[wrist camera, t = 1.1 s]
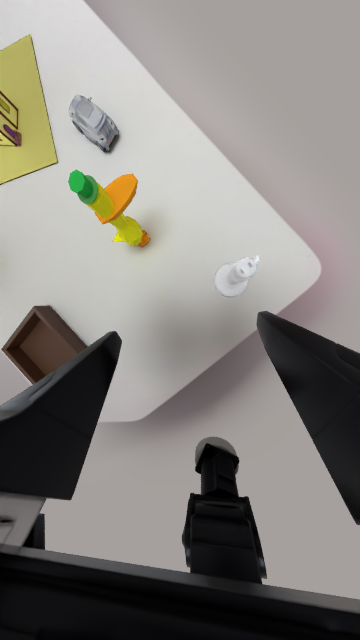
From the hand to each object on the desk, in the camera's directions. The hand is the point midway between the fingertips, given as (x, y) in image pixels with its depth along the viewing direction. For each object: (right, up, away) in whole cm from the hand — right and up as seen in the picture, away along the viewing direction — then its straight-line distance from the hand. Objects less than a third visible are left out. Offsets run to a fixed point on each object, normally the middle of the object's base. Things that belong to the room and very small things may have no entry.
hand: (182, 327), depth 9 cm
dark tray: (-24, -6, +19) cm, 31 cm away
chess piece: (+7, +7, +13) cm, 16 cm away
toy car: (-13, +30, +13) cm, 35 cm away
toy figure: (-6, +13, +14) cm, 20 cm away
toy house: (-30, +34, +16) cm, 48 cm away
